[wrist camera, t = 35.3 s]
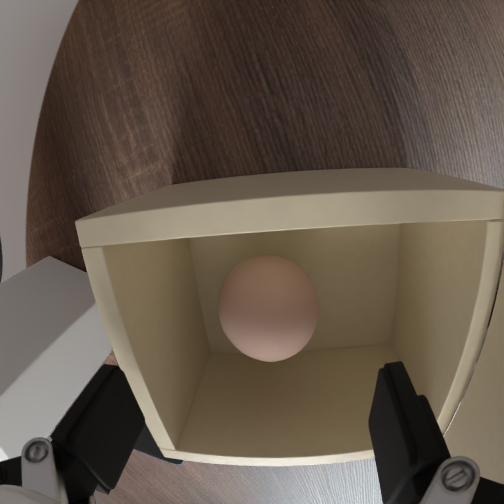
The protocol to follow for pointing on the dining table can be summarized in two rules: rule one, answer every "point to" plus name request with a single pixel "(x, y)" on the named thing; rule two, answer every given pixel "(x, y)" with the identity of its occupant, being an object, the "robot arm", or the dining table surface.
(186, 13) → the dining table surface
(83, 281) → the milk carton
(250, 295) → the egg
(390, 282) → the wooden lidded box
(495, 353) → the box lid with handle
